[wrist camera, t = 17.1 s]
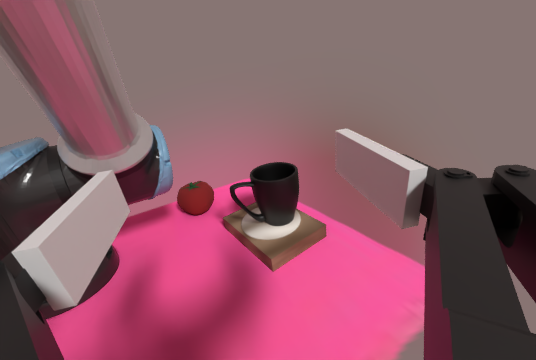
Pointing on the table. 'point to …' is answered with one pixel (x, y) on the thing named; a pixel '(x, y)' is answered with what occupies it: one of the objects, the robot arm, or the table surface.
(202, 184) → the tomato
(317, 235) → the wooden coaster block
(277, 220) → the mug
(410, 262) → the table surface
